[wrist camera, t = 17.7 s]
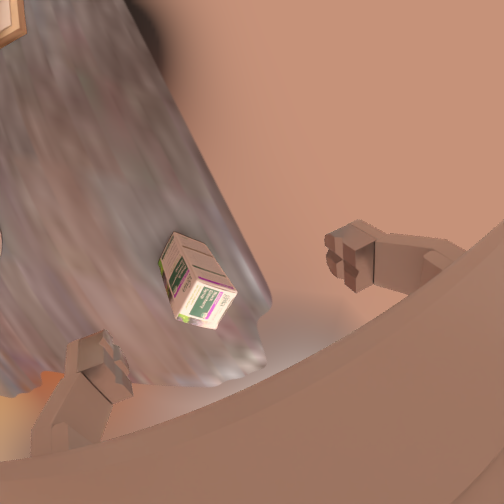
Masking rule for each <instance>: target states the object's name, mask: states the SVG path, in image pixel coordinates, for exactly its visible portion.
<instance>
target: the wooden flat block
mask: <svg viewBox="0 0 504 504" xmlns="http://www.w3.org/2000/svg"><path fill="white" fill-rule="evenodd" d="M25 34H27V30H26V22H25V13H24V3H23V0H0V49H1V48H3V47H4V46H6V45H8V44H9V43H11V42H13V41H14V40H16V39H18V38H20V37H22V36H23V35H25Z"/></svg>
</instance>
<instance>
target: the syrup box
mask: <svg viewBox="0 0 504 504" xmlns="http://www.w3.org/2000/svg"><path fill="white" fill-rule="evenodd" d="M158 265H159V268H160V271H161V275H162V278H163V282H164V285H165V288H166V292H167V295H168V298H169V301H170V304H171V307H172V310H173V313H174V317H175V319H176V320H179V321H182V322H186V323H189V324H193V325H196V326H201V327H206V328H212V329H216V328H217V326H218V324H219V322H220V320H221V319H222V317H223V316H224V314H225V313H226V311H227V310H228V308H229V306H230V305H231V303H232V301H233V299H234V298H235V296H236V295H237V291H236V289H235V288H234V286H233V285H232V283H231V282H230V280H229V279H228V277H227V276H226V274H225V273H224V271H223V270H222V268H221V267H220V266H219V264H218V263H217V261H216V260H215V258H214V257H213V255H212V254H211V252H210V251H209V249H208V247H207V246H206V245H205V244H204V243H201V242H199V241H196V240H194V239H191V238H189V237H186V236H184V235H181V234H179V233H176V232H173V234H172V236H171V238H170V240H169V241H168V243H167V245H166V247H165V249H164V251H163V253H162V256H161V258H160V260H159V262H158Z"/></svg>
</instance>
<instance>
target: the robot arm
mask: <svg viewBox="0 0 504 504" xmlns="http://www.w3.org/2000/svg"><path fill="white" fill-rule="evenodd" d="M324 240H325V246H326V247H327V248H328V249H329V250H328V252H327V254H326V260H327V264H328V266H329V269H330V271H331V272H332V274H333V275H334V276H336V277H337V278H341V279H344V282H345V285H346V286H348V287H349V288H350V289H351V290H352V291H354V292H355V293H358V292H359V291H361V290H363V289H365V288H367V287H369V286H371V285H372V284H374V285H377V286H380V287H383V288H387V289H391V290H394V291H398V292H401V293H404V294H407V295H409V296H407V297H406V298H404V299H403V300H401V301H400V302H398V303H397V304H395V305H394V306H393V307H391V308H390V309H388V310H387V311H385V312H383V313H382V314H380V315H379V316H377V317H376V318H374V319H373V320H371V321H369V322H368V323H366V324H365V325H363V326H361V327H360V328H358V329H356V330H355V331H353V332H352V333H350V334H348V335H347V336H345V337H343V338H341V339H340V340H338V341H336V342H335V343H333V344H331V345H329V346H328V347H326V348H324V349H323V350H320V351H319V352H317V353H315V354H313V355H311V356H310V357H308V358H306V359H304V360H302V361H301V362H299V363H297V364H295V365H293V366H291V367H289V368H287V369H285V370H283V371H281V372H279V373H277V374H275V375H273V376H271V377H269V378H267V379H265V380H263V381H261V382H259V383H257V384H254V385H252V386H250V387H248V388H246V389H244V390H242V391H240V392H237V393H235V394H233V395H231V396H228V397H226V398H223V399H221V400H219V401H216V402H214V403H212V404H209V405H207V406H205V407H202V408H200V409H197V410H194V411H192V412H189V413H187V414H184V415H182V416H179V417H176V418H174V419H171V420H168V421H165V422H163V423H160V424H157V425H154V426H152V427H148V428H145V429H142V430H139V431H136V432H133V433H130V434H127V435H123V436H120V437H116V438H113V439H109V440H106V441H103V442H101V440H102V437H103V434H104V431H105V428H106V425H107V422H108V419H109V416H110V413H111V410H112V407H113V405H112V404H115V403H118V402H120V401H123V400H125V399H128V398H131V397H133V391H132V385H131V381H130V380H129V378H128V377H127V376H128V374H129V372H130V371H129V365H128V362H127V359H126V357H125V355H124V353H123V351H122V350H121V349H120V347H119V346H117V345H114V344H113V337H112V336H111V335H110V333H109V332H108V331H107V330H105V329H104V330H101V331H99V332H96V333H94V334H91V335H88V336H86V337H83V338H81V339H78V340H75V341H73V342H71V343H69V344H68V345H67V352H66V362H65V376H64V378H63V379H61V380H60V382H59V383H58V385H57V386H56V388H55V390H54V391H53V393H52V395H51V396H50V398H49V400H48V401H47V403H46V405H45V407H44V408H43V410H42V412H41V413H40V415H39V417H38V419H37V420H36V422H35V424H34V426H33V428H32V429H31V458H25V459H18V460H11V461H4V462H0V504H504V219H503V220H502V222H500V223H499V224H498V225H497V226H496V227H495V228H494V229H493V230H491V231H490V232H489V233H488V234H487V235H486V236H485V237H483V238H482V239H481V240H480V241H479V242H478V243H476V244H475V245H474V246H473V247H472V248H470V249H469V250H468V251H466V250H464V249H462V248H460V247H459V246H457V245H455V244H453V243H452V242H450V241H448V240H446V239H438V238H430V237H421V236H412V235H403V234H394V233H390V234H386V233H384V232H382V231H381V230H379V229H377V228H375V227H373V226H371V225H370V224H368V223H366V222H364V221H362V220H356V221H353V222H351V223H349V224H347V225H346V226H344V227H342V228H339V229H337V230H335V231H333V232H331V233H329V234H326V235H325V239H324ZM1 250H2V238H1V232H0V256H1Z"/></svg>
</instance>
